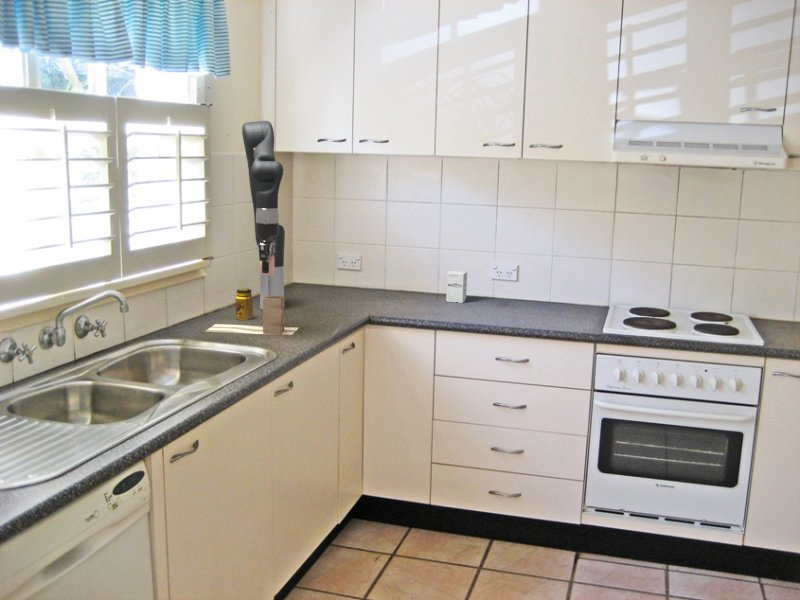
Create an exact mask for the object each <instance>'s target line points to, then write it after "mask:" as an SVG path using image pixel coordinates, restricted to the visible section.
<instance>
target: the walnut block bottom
mask: <svg viewBox="0 0 800 600" xmlns="http://www.w3.org/2000/svg"><path fill="white" fill-rule="evenodd" d="M262 326H263V334H262V335H273V334H281V333H282V332H283V331H284V327H285V313H284V314H283V315H282V316H281V317H268V316H263V315H262Z"/></svg>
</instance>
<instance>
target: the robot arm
mask: <svg viewBox="0 0 800 600" xmlns="http://www.w3.org/2000/svg"><path fill="white" fill-rule="evenodd" d="M241 127H242V128H241V129H242V130H241V134H242V140H243V145H244V149H245V156H246V161H247V169H248V179H249V189H250V194H251V201H252V207H253V208H252V209H253V216H254V217H253V218H254V233H255V234H254V235H255V242H256V246H257V248H258V256H259V257H258V258H259V259H258V260H259V262H260V261H261V262H262V273H269V256H270V255H272V256H274V274H272V275H262V274H260V273H259V289H260V292H259V301H260V302H259V309H260V310H262V311H263V298H265V297H266V296H284V297H285V288H284V287H285V281H284V280H285V279H284V278H285V277H284V276H285V271H284V270H285V269H284V268H285V266H284V265H285V243H286V242H285V241H286V240H285V238H286V233H285V228H284V226H283V225H282V224H279V221H280V220H279V218H280V217H279V208H278V207H279V190H280V188H281V187H280V186H281V182H282V179H283V177H284V176H283V175H284V167H283V164H282V163H281V162H279V161H276V156H275V132H274V127H273V125H272V122H270V121H268V120H261V121H260V120H258V121H249V122H244V123H243V124H242V126H241ZM264 255H265V257H264Z"/></svg>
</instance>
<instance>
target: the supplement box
mask: <svg viewBox="0 0 800 600" xmlns="http://www.w3.org/2000/svg"><path fill="white" fill-rule="evenodd" d="M446 275H447V277H446V299H445V302H446V301H447V302H446V303H456V302H458V303H457V304H463V303H464V302H466V301H465V300H467V287H468V285H467V284H468V271H459V270H449V271H448V272H447V274H446Z"/></svg>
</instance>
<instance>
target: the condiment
mask: <svg viewBox="0 0 800 600" xmlns="http://www.w3.org/2000/svg"><path fill="white" fill-rule="evenodd" d="M252 295H253V294H252V289H251V288H238V289H236V297H235V320H237V321H244V322H245V321H252V320H253V319H254V317H253V316H254V315H253V313H254V311H253V296H252Z"/></svg>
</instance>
